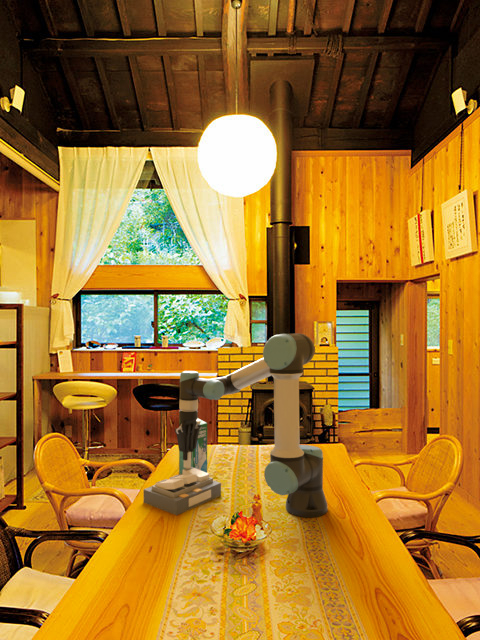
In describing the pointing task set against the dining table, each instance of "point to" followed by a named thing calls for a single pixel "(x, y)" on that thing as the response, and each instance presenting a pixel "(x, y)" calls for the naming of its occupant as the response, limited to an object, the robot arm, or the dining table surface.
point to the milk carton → (197, 450)
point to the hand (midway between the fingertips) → (187, 467)
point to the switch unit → (182, 496)
